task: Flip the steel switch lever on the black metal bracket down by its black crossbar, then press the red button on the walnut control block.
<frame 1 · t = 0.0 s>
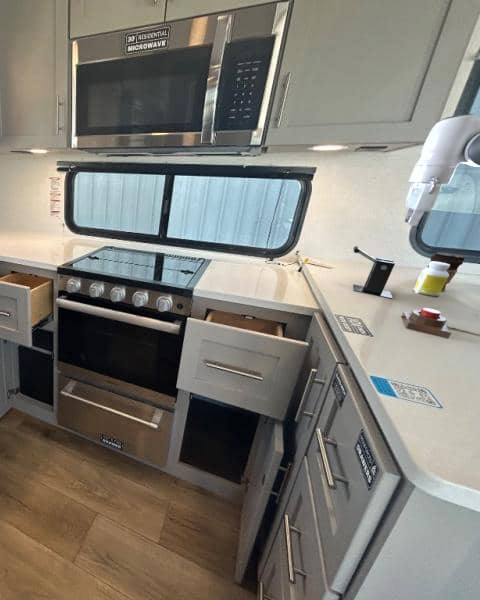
hand: (409, 223, 103), 24 cm above the countertop, tool pointing down, fingers open, 8 cm apart
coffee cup: (432, 289, 120), on the countertop
button block: (423, 326, 88), on the countertop
switch lever: (370, 258, 108), point 12 cm above the countertop, hinge at 25.0°
start button: (430, 313, 87), point 4 cm above the countertop, slide at 0.1 cm
pill bottle: (423, 296, 113), on the countertop
switch bracket: (370, 294, 111), on the countertop
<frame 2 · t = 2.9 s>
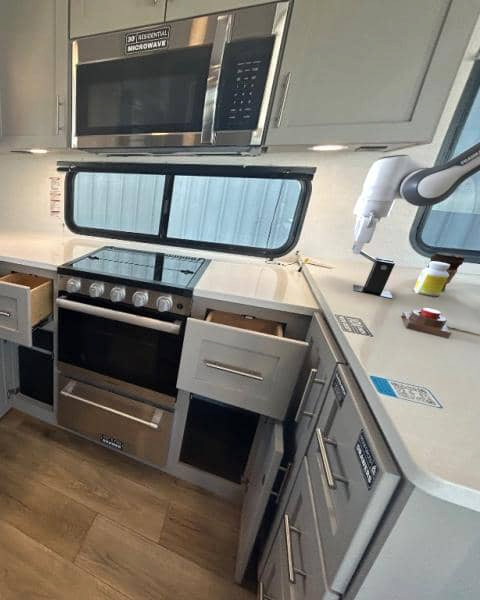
hand: (355, 252, 110), 13 cm above the countertop, tool pointing down, fingers closed on switch lever, 5 cm apart
switch lever: (370, 258, 108), point 12 cm above the countertop, hinge at 25.0°, touching gripper
everything else where it was.
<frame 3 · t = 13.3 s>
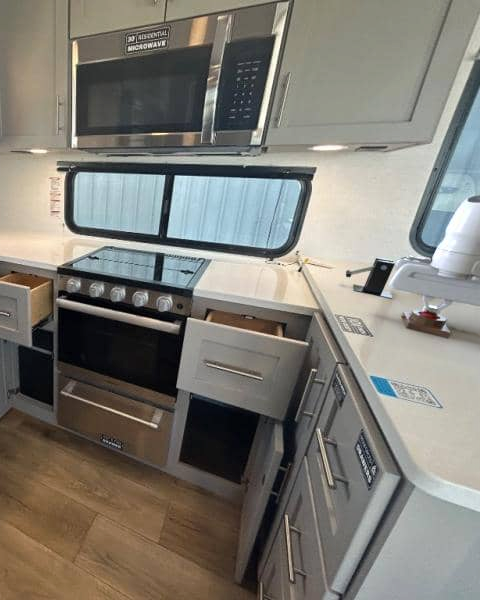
hand: (429, 313, 87), 4 cm above the countertop, tool pointing down, fingers closed, pressing on start button
switch lever: (366, 269, 110), point 8 cm above the countertop, hinge at -30.8°
start button: (428, 316, 87), point 3 cm above the countertop, slide at -0.7 cm, touching gripper
everything else where it was.
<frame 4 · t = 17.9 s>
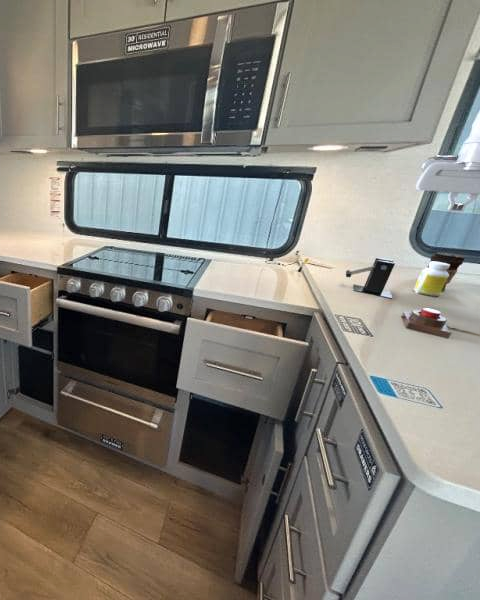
hand: (455, 210, 91), 29 cm above the countertop, tool pointing down, fingers closed
start button: (430, 313, 87), point 4 cm above the countertop, slide at 0.1 cm
everything else where it was.
at the end: switch lever at -31° (first picture: +25°); start button pushed in 1.1 cm at the most during the clip, back to where it started at the end; start button slide at 0.1 cm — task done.
